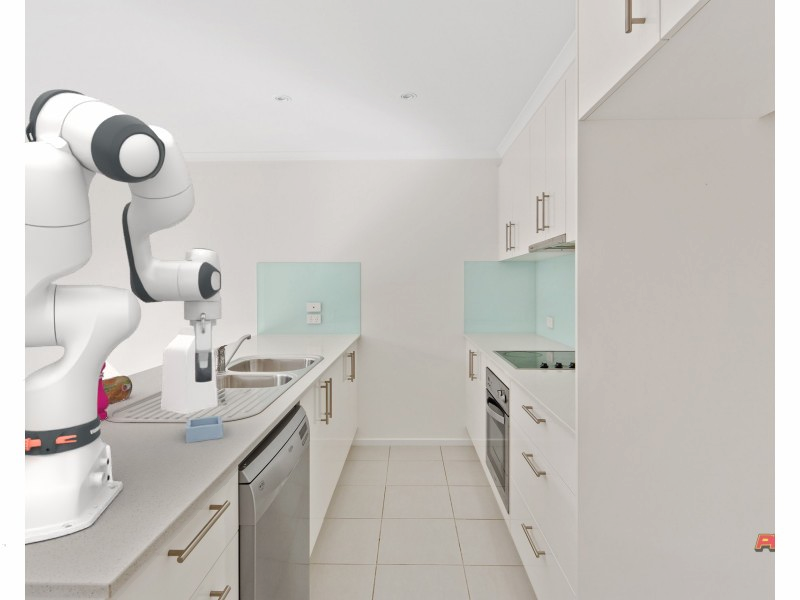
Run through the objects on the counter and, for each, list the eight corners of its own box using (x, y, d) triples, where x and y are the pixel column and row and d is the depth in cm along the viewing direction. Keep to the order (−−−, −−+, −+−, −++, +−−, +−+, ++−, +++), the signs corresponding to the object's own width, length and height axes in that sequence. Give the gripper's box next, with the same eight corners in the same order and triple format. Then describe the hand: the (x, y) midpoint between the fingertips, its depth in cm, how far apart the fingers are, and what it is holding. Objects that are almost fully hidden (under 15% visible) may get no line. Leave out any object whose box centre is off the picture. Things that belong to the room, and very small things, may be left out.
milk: (160, 409, 139) (159, 327, 138) (192, 401, 150) (191, 324, 149) (187, 414, 134) (185, 328, 133) (217, 405, 144) (216, 325, 144)
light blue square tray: (222, 437, 113) (222, 424, 113) (185, 442, 110) (185, 428, 110) (221, 428, 121) (221, 415, 121) (186, 432, 117) (186, 419, 117)
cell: (212, 381, 114) (211, 348, 114) (195, 382, 112) (194, 349, 112) (211, 378, 117) (211, 346, 117) (195, 379, 116) (194, 347, 116)
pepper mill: (94, 424, 125) (92, 353, 124) (72, 422, 126) (71, 352, 125) (115, 416, 132) (114, 349, 131) (94, 415, 133) (93, 348, 132)
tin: (94, 409, 140) (93, 382, 139) (86, 408, 140) (85, 382, 140) (133, 397, 154) (133, 373, 154) (125, 397, 155) (125, 373, 155)
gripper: (217, 314, 106) (218, 371, 107) (215, 310, 125) (215, 358, 125) (188, 315, 103) (189, 374, 104) (190, 310, 122) (191, 360, 123)
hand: (203, 365), depth 115 cm, fingers closed on cell, 4 cm apart
